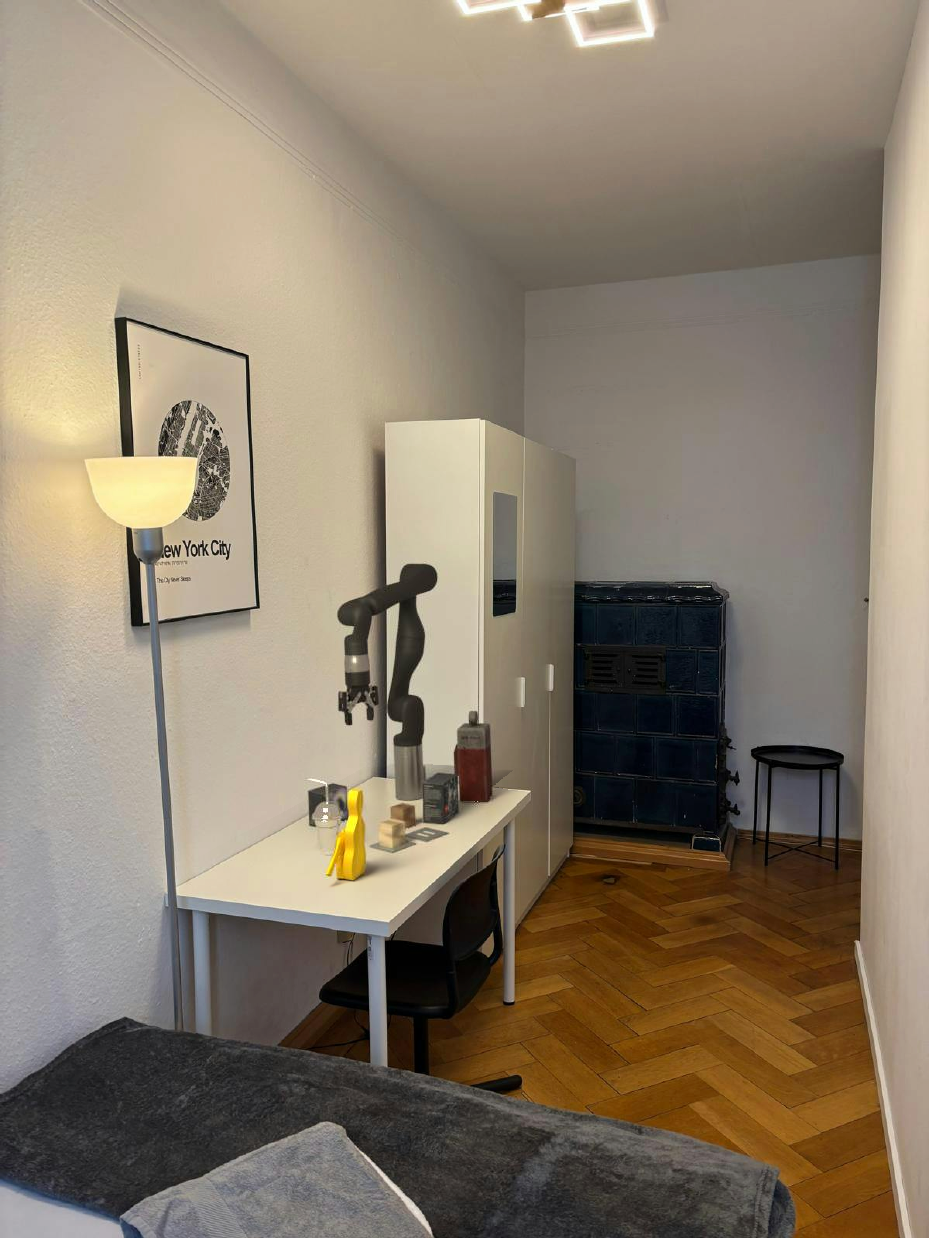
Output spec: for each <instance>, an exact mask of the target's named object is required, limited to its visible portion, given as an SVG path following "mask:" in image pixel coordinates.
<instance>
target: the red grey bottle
mask: <svg viewBox="0 0 929 1238" xmlns="http://www.w3.org/2000/svg"><path fill="white" fill-rule="evenodd" d="M456 741H457V742H456V744H455V746H454V747H455V748H454V750H453V768H454V770H453V774H458V801H459V802H460V801H475V802H474V803H480V802H487V803H489V801H490V800H489V799H491V798H492V797H493V795H492V794H493V768H492V745H491V725H490V723H481V722H480V723H479V713H478V711H477V710H469V712H468V722H466V723H465V722H464V723H463V724H461V726H459V728H457V730H456ZM491 796H492V797H491ZM490 797H491V798H490ZM477 801H478V802H477Z"/></svg>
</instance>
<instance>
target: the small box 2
mask: <svg viewBox="0 0 929 1238" xmlns="http://www.w3.org/2000/svg"><path fill="white" fill-rule="evenodd" d="M422 787H423V797H422V823H426V824H427V823H428V824H440V825H445V824H446V823H448V822H449V821H450V820H451V819H452V818H453V817H455V816H456V815H455V814H458V813H459V812H460V811H459V776H458V774H454V773H447V772H446V773H445V772H437V773H435V774H434V775H432V776H431V777H429V778H428V779H427V778H426V781H424V782H423V783H422ZM450 818H451V819H450ZM449 819H450V820H449Z"/></svg>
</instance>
